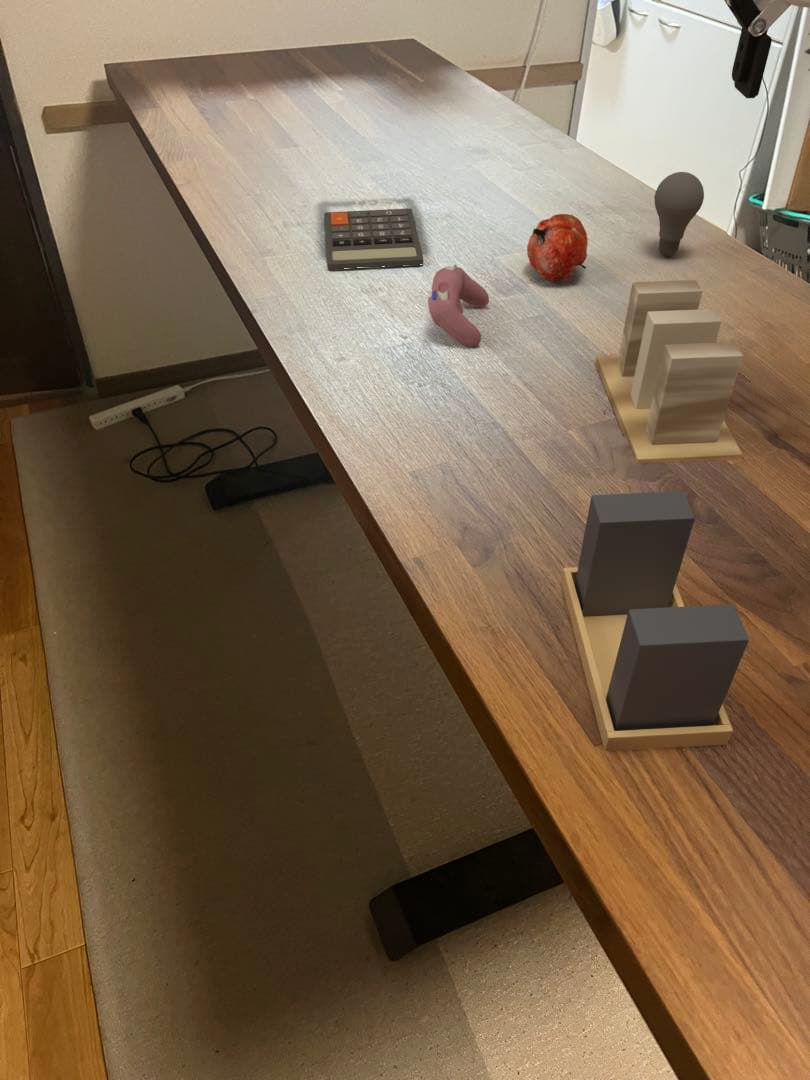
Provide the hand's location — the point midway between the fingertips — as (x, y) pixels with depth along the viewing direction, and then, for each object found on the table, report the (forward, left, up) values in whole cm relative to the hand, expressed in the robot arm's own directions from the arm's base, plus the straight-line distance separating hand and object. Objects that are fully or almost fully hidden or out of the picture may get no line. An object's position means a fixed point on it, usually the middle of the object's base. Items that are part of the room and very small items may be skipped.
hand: (809, 90), depth 63 cm
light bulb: (+14, -29, -28) cm, 43 cm away
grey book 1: (0, +29, -28) cm, 40 cm away
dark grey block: (-6, +38, -28) cm, 47 cm away
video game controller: (+29, -2, -28) cm, 41 cm away
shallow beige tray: (-3, +33, -28) cm, 44 cm away
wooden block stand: (+4, +3, -28) cm, 29 cm away
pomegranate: (+24, -18, -28) cm, 41 cm away
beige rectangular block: (+4, +3, -27) cm, 28 cm away
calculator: (+48, -15, -28) cm, 58 cm away
